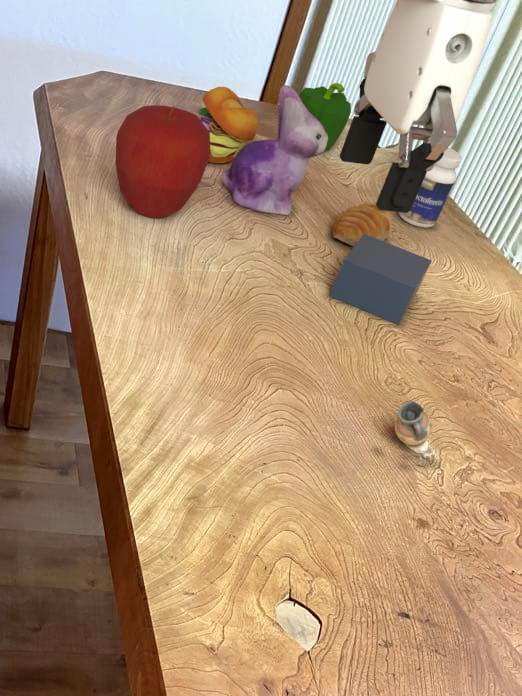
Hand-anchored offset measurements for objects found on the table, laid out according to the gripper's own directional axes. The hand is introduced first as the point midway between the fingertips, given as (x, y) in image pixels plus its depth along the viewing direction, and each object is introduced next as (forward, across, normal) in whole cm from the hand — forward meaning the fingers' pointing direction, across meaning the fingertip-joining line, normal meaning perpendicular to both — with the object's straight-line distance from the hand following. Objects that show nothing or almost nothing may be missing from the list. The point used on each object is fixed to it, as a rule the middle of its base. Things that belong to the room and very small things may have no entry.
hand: (372, 184), depth 82 cm
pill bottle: (+20, +40, -31) cm, 55 cm away
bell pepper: (+20, +63, -22) cm, 70 cm away
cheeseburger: (+20, +55, -3) cm, 59 cm away
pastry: (+20, +32, -19) cm, 43 cm away
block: (+20, +17, -15) cm, 30 cm away
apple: (+20, +34, +10) cm, 41 cm away
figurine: (+20, +40, -7) cm, 46 cm away
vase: (+20, -13, -6) cm, 25 cm away
